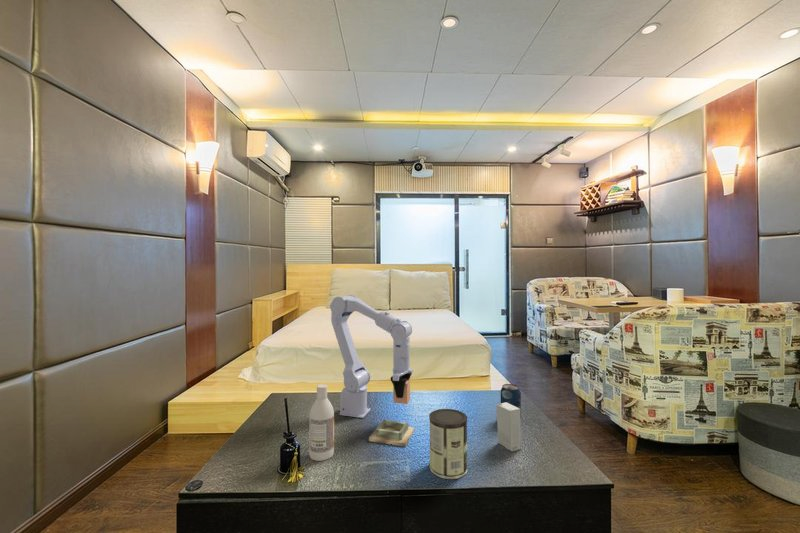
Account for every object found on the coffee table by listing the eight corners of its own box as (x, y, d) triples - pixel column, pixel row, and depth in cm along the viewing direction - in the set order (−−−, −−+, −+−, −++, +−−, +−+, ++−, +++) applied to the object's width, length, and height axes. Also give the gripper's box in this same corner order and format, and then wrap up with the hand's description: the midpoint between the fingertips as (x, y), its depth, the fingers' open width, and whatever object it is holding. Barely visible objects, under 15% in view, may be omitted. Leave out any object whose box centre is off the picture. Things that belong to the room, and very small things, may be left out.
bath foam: (335, 459, 98) (336, 388, 98) (310, 463, 95) (310, 391, 95) (331, 447, 104) (332, 380, 104) (308, 451, 102) (308, 383, 102)
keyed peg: (393, 402, 120) (393, 382, 120) (396, 398, 124) (396, 379, 124) (407, 404, 119) (407, 383, 119) (410, 400, 123) (410, 380, 123)
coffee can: (446, 453, 101) (446, 405, 101) (475, 469, 93) (475, 416, 93) (421, 467, 94) (421, 415, 94) (450, 485, 86) (450, 428, 86)
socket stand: (368, 441, 108) (368, 431, 108) (380, 425, 118) (380, 417, 118) (405, 446, 104) (405, 436, 104) (414, 430, 115) (414, 421, 115)
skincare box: (522, 449, 103) (522, 408, 103) (510, 452, 101) (510, 411, 101) (507, 439, 109) (507, 401, 109) (496, 443, 107) (496, 403, 107)
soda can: (509, 426, 118) (509, 391, 119) (496, 418, 125) (496, 384, 125) (525, 422, 121) (525, 388, 121) (511, 414, 128) (511, 382, 128)
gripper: (407, 362, 114) (407, 404, 113) (417, 352, 127) (417, 389, 127) (386, 361, 115) (386, 401, 115) (398, 351, 129) (398, 387, 129)
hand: (401, 395), depth 121 cm, fingers closed on keyed peg, 4 cm apart
